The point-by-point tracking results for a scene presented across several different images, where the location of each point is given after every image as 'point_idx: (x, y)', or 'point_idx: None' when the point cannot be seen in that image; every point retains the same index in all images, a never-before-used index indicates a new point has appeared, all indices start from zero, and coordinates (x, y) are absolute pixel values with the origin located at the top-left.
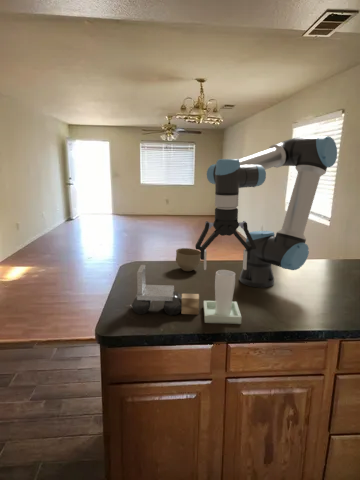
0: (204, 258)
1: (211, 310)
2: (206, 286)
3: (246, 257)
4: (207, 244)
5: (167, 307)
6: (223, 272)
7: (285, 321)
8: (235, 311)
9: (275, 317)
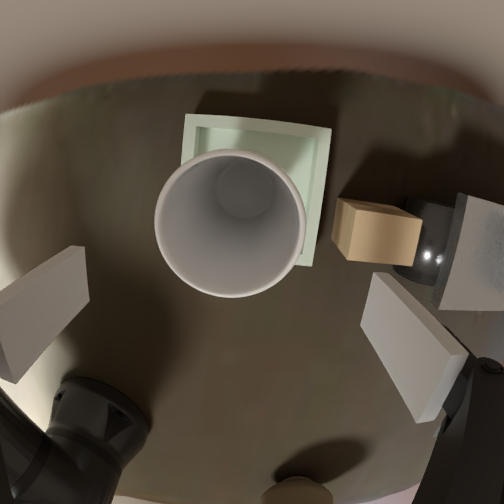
0: (430, 315)
1: None
2: (261, 405)
3: (16, 282)
4: (485, 419)
5: (450, 205)
6: (233, 285)
7: (52, 148)
8: None
9: (70, 172)
